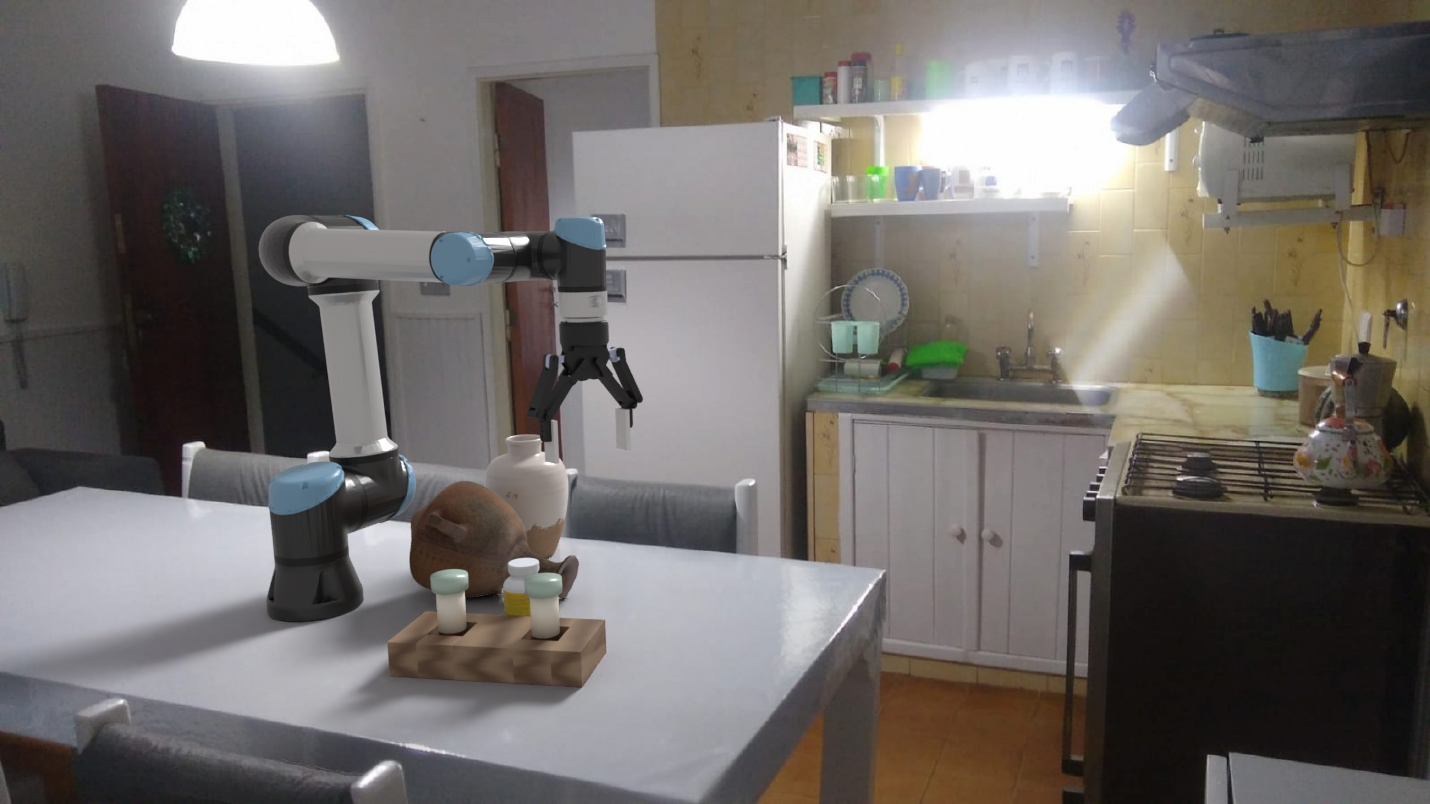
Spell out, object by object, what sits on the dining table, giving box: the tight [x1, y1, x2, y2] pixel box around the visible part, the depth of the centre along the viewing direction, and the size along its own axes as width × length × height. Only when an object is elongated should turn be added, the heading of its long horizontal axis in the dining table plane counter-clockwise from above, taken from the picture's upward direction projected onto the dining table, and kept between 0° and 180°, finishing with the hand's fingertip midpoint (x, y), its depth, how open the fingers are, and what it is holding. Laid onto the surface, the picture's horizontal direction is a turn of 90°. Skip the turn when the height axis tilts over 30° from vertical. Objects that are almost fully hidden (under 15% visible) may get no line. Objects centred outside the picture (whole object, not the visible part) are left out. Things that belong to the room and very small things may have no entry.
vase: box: [483, 433, 569, 559], centre depth 199 cm, size 16×16×23 cm
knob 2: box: [524, 573, 562, 638], centre depth 146 cm, size 5×5×8 cm
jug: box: [408, 480, 580, 599], centre depth 176 cm, size 20×20×30 cm
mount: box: [386, 611, 607, 688], centre depth 149 cm, size 28×12×5 cm, turn 80°
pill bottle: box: [502, 558, 539, 616], centre depth 159 cm, size 6×6×12 cm
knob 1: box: [430, 569, 469, 634], centre depth 149 cm, size 5×5×8 cm
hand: (588, 455), depth 162 cm, fingers open, 13 cm apart
